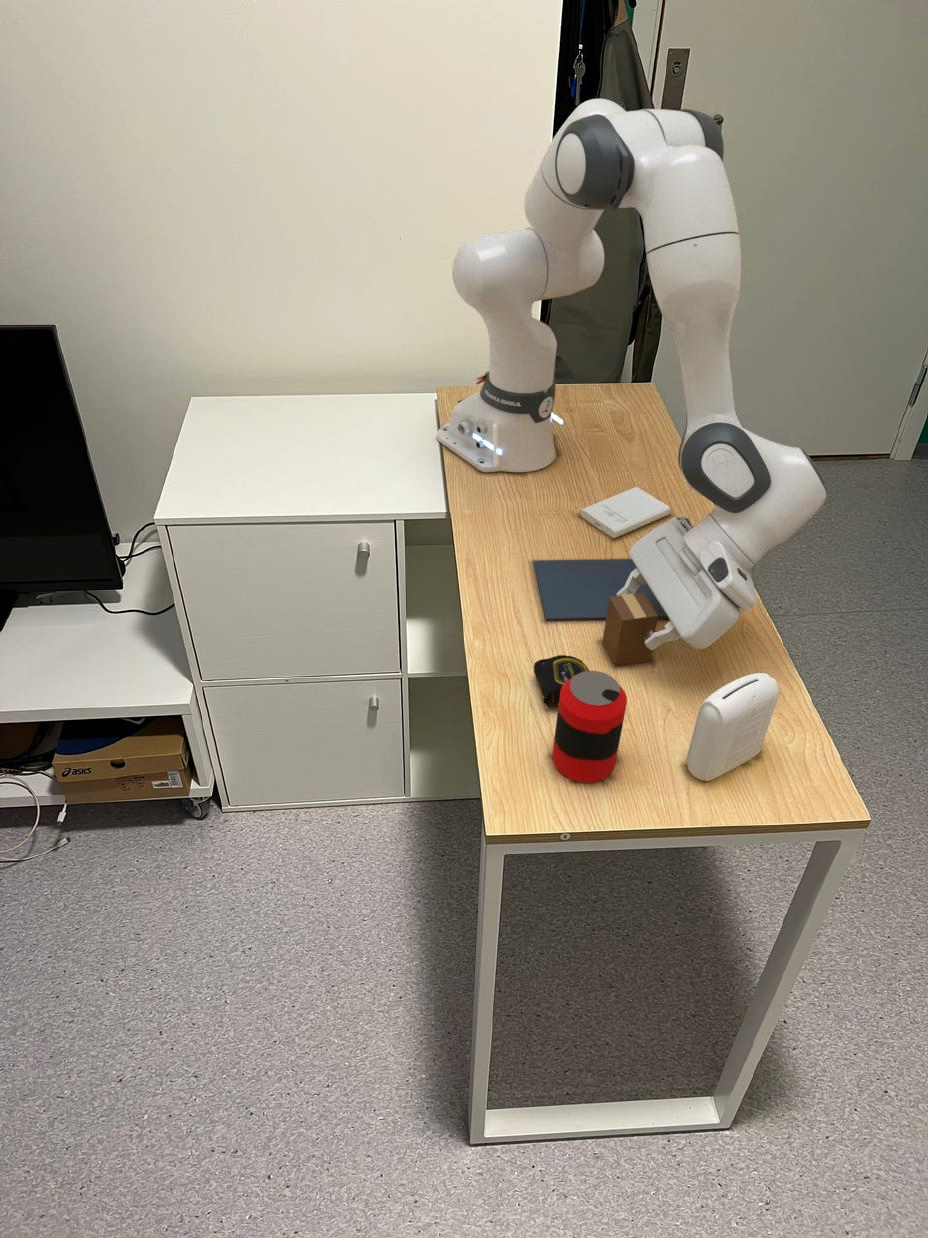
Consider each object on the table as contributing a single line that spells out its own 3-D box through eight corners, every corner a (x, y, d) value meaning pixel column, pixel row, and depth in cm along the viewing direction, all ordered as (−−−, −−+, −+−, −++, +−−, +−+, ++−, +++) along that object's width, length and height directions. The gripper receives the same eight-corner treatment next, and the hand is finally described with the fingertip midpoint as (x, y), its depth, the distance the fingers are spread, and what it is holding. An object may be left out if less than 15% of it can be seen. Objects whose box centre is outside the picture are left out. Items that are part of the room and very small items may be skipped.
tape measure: (531, 675, 127) (533, 654, 125) (581, 672, 128) (584, 650, 125) (541, 712, 122) (544, 690, 119) (594, 708, 123) (597, 686, 120)
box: (601, 642, 133) (609, 596, 128) (635, 637, 134) (644, 591, 129) (614, 666, 129) (622, 620, 124) (649, 661, 130) (658, 615, 125)
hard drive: (669, 515, 158) (614, 539, 152) (634, 493, 163) (579, 516, 157) (670, 507, 157) (615, 531, 151) (635, 485, 162) (580, 507, 156)
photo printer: (739, 732, 120) (761, 657, 112) (765, 753, 117) (789, 679, 109) (678, 765, 115) (697, 689, 108) (704, 788, 113) (725, 712, 105)
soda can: (597, 794, 111) (610, 721, 104) (540, 767, 114) (549, 694, 107) (625, 754, 117) (639, 681, 109) (569, 729, 120) (580, 656, 112)
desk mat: (545, 621, 136) (546, 618, 136) (533, 563, 147) (533, 560, 146) (684, 618, 137) (685, 615, 137) (662, 561, 148) (662, 558, 148)
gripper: (669, 498, 130) (593, 565, 134) (737, 588, 114) (648, 660, 119) (694, 522, 133) (619, 587, 138) (763, 613, 118) (675, 682, 122)
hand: (632, 622), depth 128 cm, fingers open, 8 cm apart
